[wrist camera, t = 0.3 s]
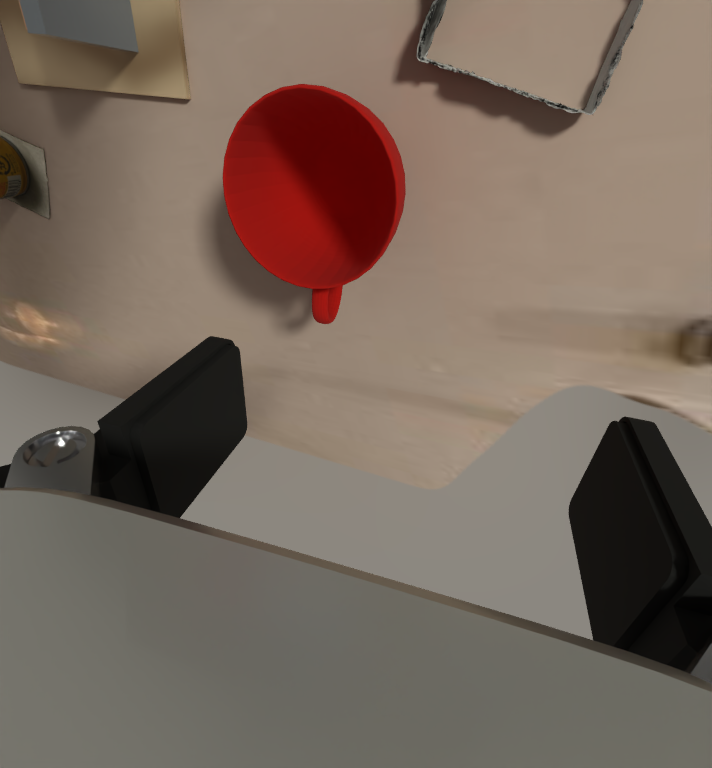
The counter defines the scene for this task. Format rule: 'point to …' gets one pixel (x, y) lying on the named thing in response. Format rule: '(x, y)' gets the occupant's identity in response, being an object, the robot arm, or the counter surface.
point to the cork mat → (105, 54)
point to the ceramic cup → (313, 189)
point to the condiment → (23, 174)
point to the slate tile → (83, 21)
